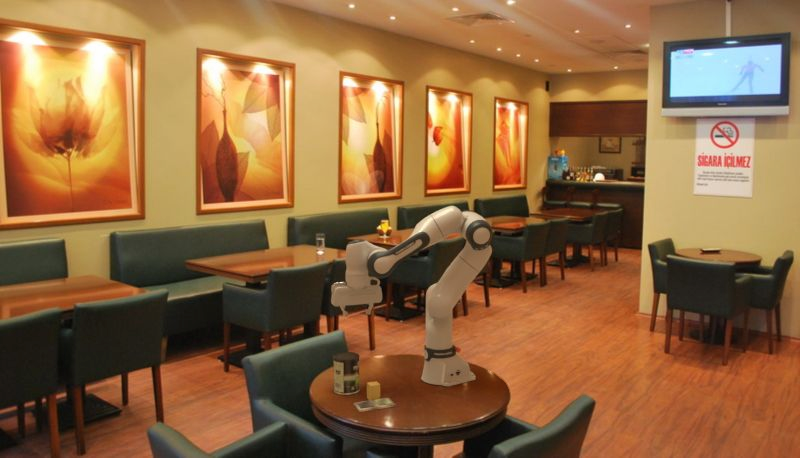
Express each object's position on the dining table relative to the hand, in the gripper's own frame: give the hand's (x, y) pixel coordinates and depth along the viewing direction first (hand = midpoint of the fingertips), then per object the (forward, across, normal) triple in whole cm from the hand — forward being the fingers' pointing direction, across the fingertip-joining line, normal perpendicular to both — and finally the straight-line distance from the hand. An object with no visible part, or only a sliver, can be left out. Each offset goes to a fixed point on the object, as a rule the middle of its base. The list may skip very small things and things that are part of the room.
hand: (356, 315), depth 257 cm
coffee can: (+30, -5, -2) cm, 30 cm away
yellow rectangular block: (+29, +2, -14) cm, 33 cm away
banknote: (+29, 0, -20) cm, 36 cm away
